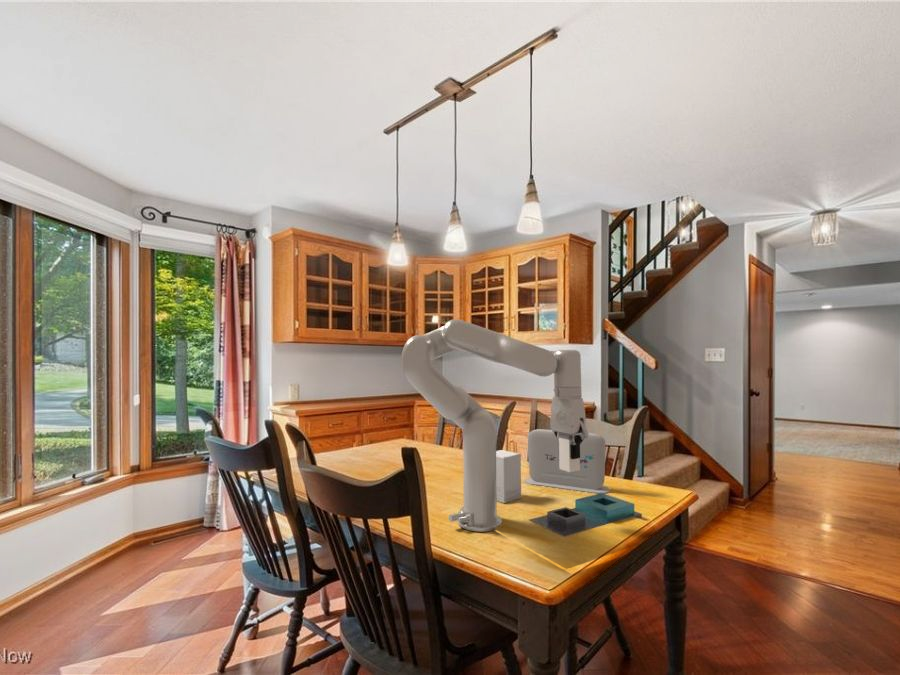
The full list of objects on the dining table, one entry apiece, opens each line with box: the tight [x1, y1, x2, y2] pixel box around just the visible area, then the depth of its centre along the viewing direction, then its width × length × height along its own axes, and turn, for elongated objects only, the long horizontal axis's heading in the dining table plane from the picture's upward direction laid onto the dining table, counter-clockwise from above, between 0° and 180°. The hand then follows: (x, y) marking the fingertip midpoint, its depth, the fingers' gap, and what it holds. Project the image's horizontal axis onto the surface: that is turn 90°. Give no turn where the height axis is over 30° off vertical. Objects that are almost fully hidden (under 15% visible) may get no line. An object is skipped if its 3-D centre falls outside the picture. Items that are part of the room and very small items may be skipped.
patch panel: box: [528, 493, 643, 537], centre depth 134 cm, size 32×14×4 cm, turn 121°
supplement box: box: [496, 449, 522, 504], centre depth 154 cm, size 9×9×15 cm
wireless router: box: [523, 428, 611, 495], centre depth 168 cm, size 31×10×20 cm, turn 62°
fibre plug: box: [559, 432, 580, 472], centre depth 131 cm, size 4×4×14 cm
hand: (569, 456), depth 131 cm, fingers closed on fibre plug, 4 cm apart
